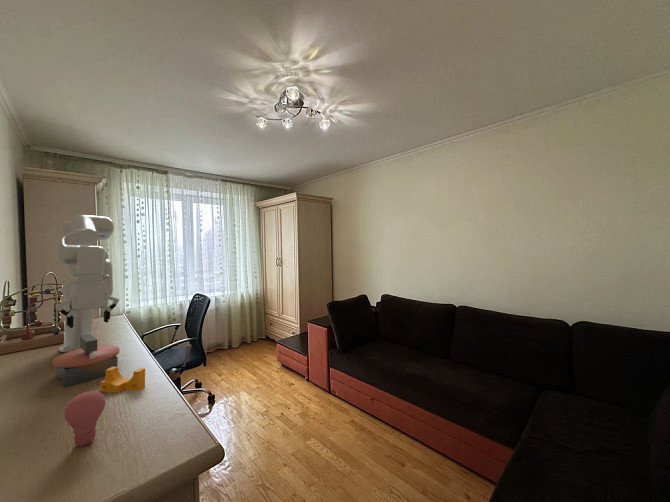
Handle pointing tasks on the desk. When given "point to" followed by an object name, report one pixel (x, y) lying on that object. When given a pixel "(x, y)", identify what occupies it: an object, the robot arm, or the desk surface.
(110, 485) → the desk surface
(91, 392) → the light bulb
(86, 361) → the handwheel
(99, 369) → the block
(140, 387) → the pipe clamp
